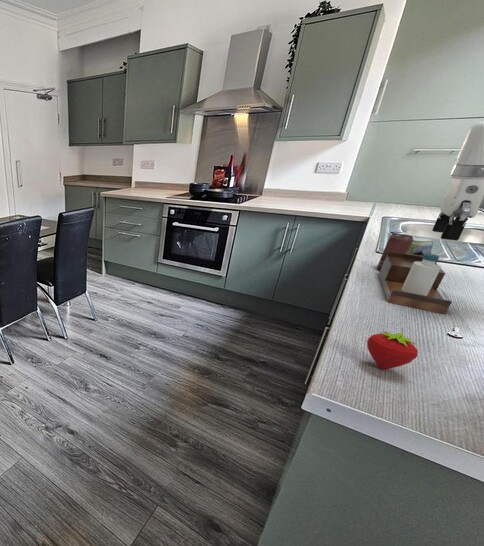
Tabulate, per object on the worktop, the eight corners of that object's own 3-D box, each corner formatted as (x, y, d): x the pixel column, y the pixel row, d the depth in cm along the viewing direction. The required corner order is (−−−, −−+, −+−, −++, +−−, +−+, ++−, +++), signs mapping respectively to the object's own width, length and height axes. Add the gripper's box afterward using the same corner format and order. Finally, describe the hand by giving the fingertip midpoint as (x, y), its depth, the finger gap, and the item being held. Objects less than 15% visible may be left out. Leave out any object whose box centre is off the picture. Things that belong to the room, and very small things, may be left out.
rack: (425, 284, 106) (437, 258, 103) (445, 314, 87) (461, 284, 84) (378, 275, 113) (388, 250, 109) (387, 302, 94) (400, 273, 90)
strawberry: (359, 354, 71) (376, 316, 67) (405, 369, 66) (426, 330, 62) (357, 366, 67) (374, 327, 63) (406, 384, 62) (428, 342, 58)
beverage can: (429, 273, 115) (444, 242, 111) (404, 270, 118) (417, 240, 113) (419, 267, 121) (433, 237, 116) (395, 264, 123) (408, 235, 119)
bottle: (425, 291, 95) (443, 254, 91) (429, 297, 91) (448, 259, 87) (400, 286, 99) (416, 250, 94) (402, 292, 94) (420, 255, 90)
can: (384, 267, 121) (399, 232, 115) (402, 273, 115) (419, 237, 109) (371, 268, 120) (385, 233, 114) (389, 274, 114) (405, 238, 108)
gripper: (509, 175, 73) (474, 245, 79) (483, 170, 85) (455, 231, 92) (461, 174, 77) (432, 240, 84) (443, 169, 90) (419, 227, 96)
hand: (444, 235), depth 88 cm, fingers open, 9 cm apart
